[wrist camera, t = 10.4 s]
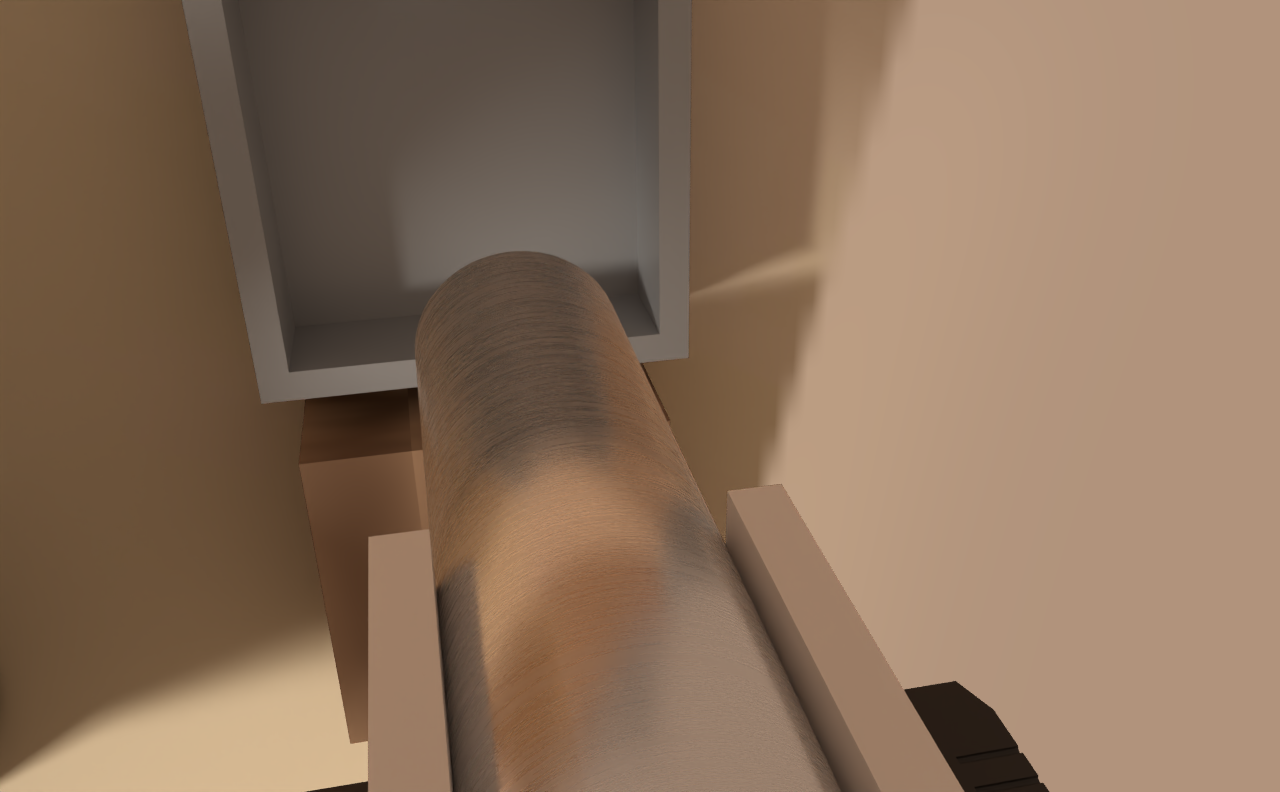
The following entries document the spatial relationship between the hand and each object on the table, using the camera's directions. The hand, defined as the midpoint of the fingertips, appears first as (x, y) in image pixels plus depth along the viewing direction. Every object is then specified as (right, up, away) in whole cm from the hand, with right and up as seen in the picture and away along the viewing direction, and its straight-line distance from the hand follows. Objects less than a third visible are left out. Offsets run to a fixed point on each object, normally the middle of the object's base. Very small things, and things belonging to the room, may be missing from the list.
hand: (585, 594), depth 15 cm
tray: (-5, +12, +22) cm, 26 cm away
